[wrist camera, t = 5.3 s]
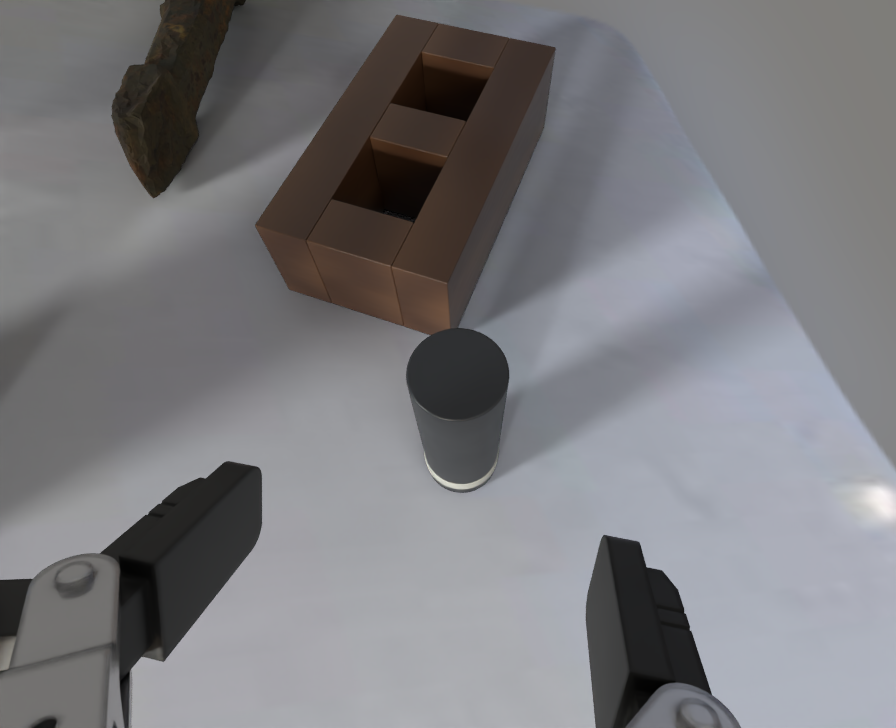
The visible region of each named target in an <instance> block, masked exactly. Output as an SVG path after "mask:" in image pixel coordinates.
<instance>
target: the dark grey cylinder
mask: <svg viewBox="0 0 896 728" xmlns="http://www.w3.org/2000/svg"><path fill="white" fill-rule="evenodd" d="M406 380H407V386H408V390H409V394H410V398H411V401H412V405H413V409H414V413H415V417H416V421H417V425H418V429H419V432H420V436H421V440H422V444H423V448H424V456H425V460H426V464H427V467H428V469H429V471H430V473H431V475H432V477H433V478H434V479H435V481H436V482H437V483H438V484H440V485H441V486H442V487H444V488H445V489H447V490H450V491H453V492H459V493H464V492H470V491H474V490H476V489H478V488H480V487H482V486H483V485H484V484H485V483H486V482H487V481H488V480H489V479H490V477H491V476H492V474H493V472H494V469H495V467H496V464H497V460H498V454H499V440H500V434H501V427H502V421H503V414H504V408H505V402H506V395H507V389H508V382H509V367H508V363H507V360H506V357H505V355H504V353H503V352H502V350H501V349H500V348H499V346H498V345H497V344H496V343H495V342H494V341H493V340H491V339H490V338H489V337H487V336H486V335H484V334H482V333H480V332H477V331H474V330H470V329H464V328H453V329H446V330H442V331H439V332H437V333H435V334H432V335H431V336H429V337H427V338H426V339H425V340H424V341H422V342H421V343H420V344H419V345H418V346H417V348H416V349H415V350H414V352H413V353H412V355H411V357H410V359H409V362H408V366H407V372H406Z"/></svg>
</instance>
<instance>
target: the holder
mask: <svg viewBox="0 0 896 728" xmlns="http://www.w3.org/2000/svg"><path fill="white" fill-rule="evenodd" d="M555 50H556V48H555V47H551V46H546V45H541V44H536V43H531V42H526V41H522V40H517V39H512V38H510V39H509V38H507V37H502V36H497V35H493V34H488V33H483V32H478V31H473V30H468V29H464V28H459V27H454V26H449V25H444V24H438V23H435V22H430V21H425V20H420V19H416V18H411V17H406V16H401V15H396V16H395V18H394V19H393V21H392V22H391V24H390V25H389V27H388V28H387V30H386V31H385V33H384V34H383V36H382V37H381V38H380V40H379V41H378V43H377V44H376V46H375V47H374V49H373V50H372V52H371V53H370V55H369V56H368V58H367V59H366V61H365V62H364V64H363V65H362V67H361V68H360V70H359V71H358V73H357V74H356V76H355V77H354V79H353V80H352V82H351V83H350V85H349V86H348V88H347V89H346V91H345V92H344V94H343V95H342V96H341V98H340V99H339V101H338V102H337V104H336V105H335V107H334V108H333V110H332V111H331V113H330V114H329V116H328V117H327V119H326V120H325V122H324V123H323V125H322V126H321V128H320V129H319V131H318V132H317V134H316V135H315V137H314V138H313V140H312V141H311V143H310V144H309V146H308V147H307V149H306V150H305V152H304V153H303V154H302V156H301V157H300V159H299V160H298V162H297V163H296V165H295V166H294V168H293V169H292V171H291V172H290V174H289V175H288V177H287V178H286V180H285V181H284V183H283V184H282V186H281V187H280V189H279V190H278V192H277V193H276V195H275V196H274V198H273V199H272V201H271V202H270V204H269V205H268V207H267V208H266V210H265V211H264V212H263V214H262V215H261V217H260V218H259V220H258V221H257V223H256V224H255V226H256V228H257V230H258V232H259V234H260V236H261V238H262V240H263V241H264V243H265V245H266V247H267V249H268V251H269V253H270V255H271V256H272V258H273V260H274V262H275V264H276V266H277V268H278V269H279V271H280V273H281V275H282V277H283V279H284V281H285V283H286V284H287V286H288V288H289V289H290V290H293V291H296V292H299V293H302V294H305V295H308V296H311V297H314V298H317V299H321V300H324V301H327V302H330V303H334V304H337V305H340V306H343V307H346V308H349V309H352V310H355V311H358V312H362V313H365V314H368V315H371V316H374V317H377V318H380V319H383V320H386V321H389V322H392V323H396V324H399V325H402V326H405V327H407V328H410V329H413V330H417V331H420V332H423V333H426V334H429V335H432V334H435V333H437V332H439V331H442V330H446V329H453V328H458V325H459V323H460V321H461V318H462V316H463V314H464V311H465V309H466V307H467V304H468V302H469V300H470V297H471V295H472V293H473V290H474V288H475V286H476V284H477V281H478V279H479V277H480V274H481V272H482V270H483V267H484V265H485V263H486V260H487V258H488V256H489V253H490V251H491V249H492V246H493V244H494V242H495V240H496V237H497V235H498V233H499V230H500V228H501V226H502V223H503V221H504V219H505V216H506V214H507V212H508V209H509V207H510V205H511V202H512V200H513V198H514V196H515V193H516V191H517V189H518V186H519V184H520V182H521V179H522V177H523V175H524V172H525V170H526V168H527V165H528V163H529V161H530V158H531V156H532V154H533V152H534V149H535V147H536V145H537V142H538V140H539V138H540V135H541V133H542V131H543V128H544V124H545V117H546V110H547V104H548V97H549V90H550V83H551V77H552V70H553V63H554V56H555ZM384 209H386V210H389V211H393V212H396V213H400V214H403V215H407V216H410V217H414V218H417V219H416V220H415V222H414V223H413V222H411V221H408V220H404V219H401V218H397V217H394V216H390V215H386V214H383V213H382V212H383V210H384Z"/></svg>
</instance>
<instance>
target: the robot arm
mask: <svg viewBox="0 0 896 728" xmlns="http://www.w3.org/2000/svg"><path fill="white" fill-rule="evenodd" d="M261 526H262V474H261V470H260V468H259V467H256V466H251V465H245V464H240V463H235V462H230V461H227V462H224V463H223V464H222V465H221V466H220V467H219V468H217V469H216V470H215V471H214V472H213V473H212V474H211V475H209V476H208V477H207V478H206V479H205V478H198V479H196V480H194V481H191V482H189V483H187V484H185V485H183V486H180V487H178V488H177V489H176V490H175V491H173V492H172V493H171V494H170V495H169V496H167V497H166V498H165V499H164V500H163V501H162V503H161V504H158V505H157V506H156V507H154V508H153V509H152V510H151V511H150V512H149V514H148V515H145V516H144V517H143V518H141V519H140V520H139V521H138V522H137V523H135V524H134V525H133V526H132V527H131V528H129V529H128V530H127V531H126V532H125V533H124V534H122V535H121V536H120V537H119V538H118V539H116V540H115V541H114V542H113V543H112V544H110V545H109V546H108V547H107V548H106V549H105V550H103V551H102V552H101V553H100V554H95V553H91V554H81V555H76V556H72V557H69V558H65V559H63V560H60V561H58V562H56V563H54V564H52V565H50V566H48V567H47V568H45V569H44V570H42V571H41V572H40V573H39V574H37V576H36V577H35V578H34V579H15V580H0V728H132V672H131V668H132V667H133V666H134V665H135V664H136V663H137V661H138V660H139V659H140V658H141V657H146V658H150V659H154V660H159V661H163V662H164V661H165V660H166V658H167V657H168V656H169V654H170V653H171V652H172V651H173V649H174V648H175V647H176V646H177V644H178V643H179V642H180V641H181V639H182V638H183V637H184V635H185V634H186V633H187V632H188V630H189V629H190V628H191V627H192V625H193V624H194V623H195V621H196V620H197V619H198V618H199V616H200V615H201V614H202V613H203V611H204V610H205V609H206V608H207V606H208V605H209V604H210V602H211V601H212V600H213V599H214V597H215V596H216V595H217V594H218V592H219V591H220V590H221V589H222V587H223V586H224V585H225V583H226V582H227V581H228V580H229V578H230V577H231V576H232V575H233V573H234V572H235V571H236V570H237V568H238V567H239V566H240V564H241V563H242V562H243V561H244V559H245V558H246V557H247V556H248V554H249V553H250V552H251V551H252V549H253V548H254V546H255V544H256V542H257V540H258V538H259V535H260V531H261ZM586 627H587V638H588V649H589V660H590V670H591V681H592V692H593V702H594V713H595V724H596V728H741V727H740V725H739V723H738V721H737V720H736V718H735V717H734V715H733V714H732V713H731V712H730V711H729V709H728V708H727V707H726V706H725V705H723V704H722V703H721V702H720V701H719V700H718V699H716V698H715V697H714V696H712V694H711V690H710V687H709V684H708V681H707V678H706V675H705V672H704V669H703V666H702V663H701V660H700V657H699V653H698V650H697V647H696V644H695V641H694V638H693V635H692V632H691V631H690V626H689V623H688V620H687V616H686V614H684V607H683V604H682V601H681V598H680V595H679V592H678V589H677V588H676V587H675V586H674V585H673V583H672V582H671V581H670V580H669V578H668V577H667V576H666V575H665V573H664V572H663V571H662V570H657V569H652V568H647V567H646V564H645V561H644V557H643V553H642V549H641V546H640V543H639V542H638V541H633V540H628V539H622V538H617V537H612V536H607V535H604V536H603V537H602V539H601V542H600V546H599V550H598V554H597V558H596V562H595V566H594V570H593V574H592V578H591V582H590V586H589V590H588V595H587V603H586Z"/></svg>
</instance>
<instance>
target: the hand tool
mask: <svg viewBox="0 0 896 728" xmlns="http://www.w3.org/2000/svg"><path fill="white" fill-rule="evenodd" d="M244 3H245V0H165V2H164V3H163V4H161V5H160V14H161V17H162V19H161V23H160V25H159V28H158V30H157V33H156V35H155V37H154V40H153V43H152V45H151V48H150V50H149V53H148V56H147V57H146V60H145V64H143V65H132V66H129V68H128V69H127V72H126V74H125V75H124V77H123V80H122V85H121V87H120V90H119V91H118V92H117V93H116V95H115V99H114V100H113V104H112V115H111V116H112V119H113V121H114V122H113V123H114V126H115V133H116V135H117V137H118V139H119V142H120V144H121V146H122V148H123V150H124V153H125V155H126V158H127V160H128V162H129V164H130V166H131V168H132V169H133V171H134V173H135V174H136V176H137V177H138V179H139V180H140V182H141V183H142V185H143V186H144V188H145V189H146V190H147V192H148V193H149V194H150V195H151V196H152V197H153V198H155V197H157V196H158V195H160V193H162V192H164V191H165V190H166V188H167V187H168V186H169V184H170V183H171V182H172V180H173V179H174V177H175V176H176V175H177V174H178V172H179V171H180V170H181V166H182V164H183V163H184V161H185V159H186V157H187V155H188V153H189V151H190V150H191V148H192V146H193V145H194V143H195V142H196V141H197V139H198V136H199V132H198V128H197V125H196V119H195V118H196V113H197V111H198V108H199V105H200V102H201V99H202V96H203V95H204V92H205V90H206V87H207V85H208V82H209V80H210V79H211V77H212V75H213V71H214V64H215V60H216V57H217V55H218V52H219V49H220V46H221V44H222V43H223V41H224V38H225V34H226V32H227V31H228V23H229V21H230V19H231V15H232V10H233V7H234V6H238V5H243V4H244Z"/></svg>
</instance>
